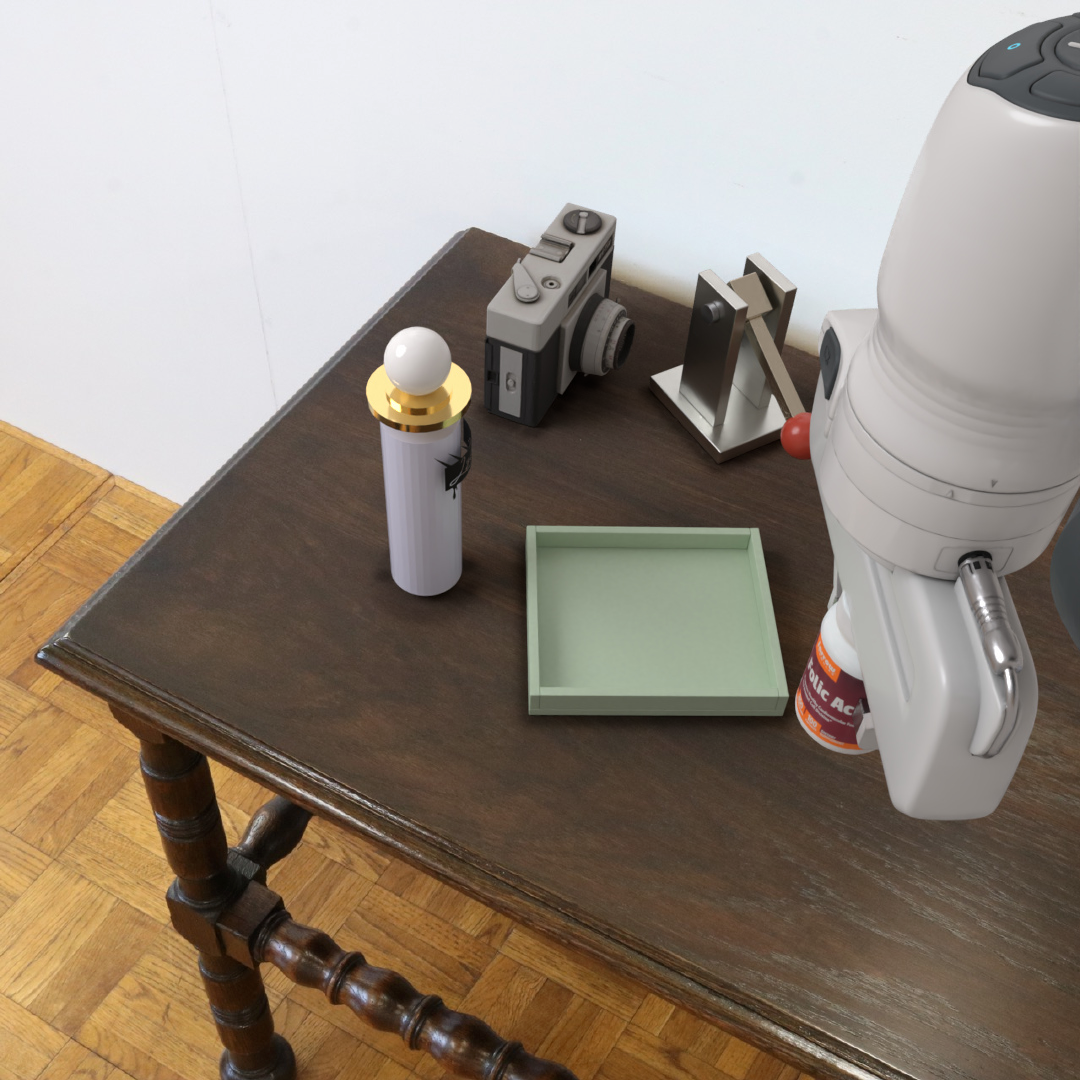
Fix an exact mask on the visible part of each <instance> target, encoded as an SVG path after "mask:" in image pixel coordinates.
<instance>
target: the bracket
mask: <svg viewBox="0 0 1080 1080" xmlns="http://www.w3.org/2000/svg"><path fill="white" fill-rule="evenodd" d="M754 272H756V273H757V275H758V278H759V280H760V282H761V284H762V286H763V289H764V291H765V293H766V295H767V297H768V299H769V302H770V304H771V306H772V308H773V309H772V310H771V311H770V312H769V313H767V314H766V315H765V316H763V320H764V322H765V324H766V326H767V328H768V331H769V333H770V335H771V337H772V339H773V342H774V344H775V346H776V348H777V350H778V352H779V355H780V357H781V358H782V353H783V350H784V345H785V341H786V337H787V334H788V333H787V332H788V328H789V324H790V321H791V316H792V313H793V308H794V305H795V300H796V296H797V291H798V287H797V286H796V285H795V284H794V283H793V282H792V281H790V280H789V279H788V278H787V277H786V276H785V275H784V274H783V273H782V272H781V271H780V270H778V269H777V267H775V266H774V265H773V264H772V263H771V262H769V261H768V260H767V259H766V257H764V256H763V255H762V254H761V253H760V252H755V253H752V254H749V255H747V256H746V258H745V262H744V268H743V272H742V277H743V276H745V275H748V274H751V273H754ZM695 287H696V288H695V293H694V299H693V305H692V309H691V315H690V322H689V327H688V334H687V340H686V347H685V352H684V357H683V364H680V365H678V366H675V367H671V368H669V369H666V370H663V371H661V372H658V373H656V374H653V375H650V376H649V382H648V389H649V390H650V392H652V394H653V395H654V396H655V397H656V398H657V399H658V400H659V401H660V403H662V404H663V405H664V407H665V408H666V409H667V410H668V411H669V412H670V413H671V415H672V416H673V417H674V418H675V419H676V420H677V421H678V422H679V423H680V424H681V425H682V426H683V428H684V429H685V430H686V431H687V432H688V433H689V434H690V435H691V436H692V437H693V439H695V441H696V442H697V443H698V444H699V445H700V446H701V448H703V449H704V451H706V453H707V454H708V455H709V456H710V457H711V458H712V459H713V460H714V461H715V463H716V464H721V463H724V462H727V461H729V460H731V459H734V458H737V457H739V456H741V455H744V454H746V453H749V452H751V451H753V450H756V449H758V448H761V447H763V446H765V445H768V444H771V443H773V442H775V441H777V440H781V439H780V435H781V429H782V427H783V425H784V423H785V422H786V420H785V418H784V416H783V414H782V411H781V409H780V407H779V405H778V403H777V400H776V398H775V396H774V394H773V392H772V389H771V387H770V385H769V383H768V381H767V378H766V376H765V374H764V372H763V370H762V367H761V365H760V363H759V361H758V359H757V356H756V354H755V352H754V350H753V348H752V345H751V343H750V341H749V339H748V337H747V334H746V332H745V330H744V326H745V321H746V316H747V311H748V307H749V306H748V304H747V303H746V302H745V301H743V300H742V299H741V298H740V297H739V296H738V295H737V294H736V293H735V292H734V291H733V290H732V289H731V288H730V287H729V286H728V285H727V283H726V282H725V281H724V280H723V279H721V278H720V276H718V274H716V272H714V271H713V269H712V268H709V269H706V270H705V269H704V271H703V270H702V271H700V272H698V274H697V281H696V286H695Z"/></svg>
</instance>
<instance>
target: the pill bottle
mask: <svg viewBox="0 0 1080 1080" xmlns="http://www.w3.org/2000/svg"><path fill="white" fill-rule="evenodd" d="M859 699H867V695H866V691H865V686H864V682H863V678H862V674H861V669H860V665H859V661H858V656H857V652H856V648H855V643H854V639H853V635H852V631H851V618H850V613H849V608H848V604H847V599H846V595H845V591H844V589H843V591H842V594H841V596H840V598H839V600H838V602H836V603H835V604H834V605H833V606H832V607H831V608H830V609H829V610H828V609H827V612H826V613H825V615H824V617H823V618H822V620H821V622H820V627H819V630H818V633H817V636H816V639H815V641H814V644H813V646H812V649H811V652H810V656H809V658H808V660H807V663H806V666H805V668H804V671H803V674H802V677H801V678H800V683H799V686H798V688H797V690H796V694H795V699H794V700H795V701H794V705H795V706H794V707H795V713H796V717H797V719H798V721H799V723H800V726H801V728H803V730H804V731H805V732H806V733H807V734H808V736H809V737H810V738H812V739H813V740H814V741H815V742H816V743H818V744H819V745H820V746H822V747H823V748H825V749H828V750H830V751H833V752H836V753H840V754H844V755H852V756H853V755H855V756H856V755H857V756H858V755H862V754H868V753H871V752H874V751H875V750H863V749H861V748H859V746H858V743H857V739H856V733H855V728H854V723H853V718H852V716H853V713H855V711H856V706H857V704H858V701H859Z"/></svg>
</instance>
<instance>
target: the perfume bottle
mask: <svg viewBox="0 0 1080 1080" xmlns="http://www.w3.org/2000/svg"><path fill="white" fill-rule="evenodd" d="M367 380H368V381H367V384H366V387H365V388H366V389H365V394H366V403H367V406H368V410H369V411H370V412H371V414H372V416H374V418H375V419H376V420H377V421H378V422H379V431H380V444H381V445H380V446H381V454H382V455H381V458H382V469H383V470H382V471H383V481H384V482H383V485H384V496H385V497H384V498H385V508H386V509H385V511H386V522H387V534H388V549H389V562H390V571H391V572H390V574H391V576H392V580H394V583H395V584H396V585H397V586H398V587H399V588H400V589H402V590H403V591H405V592H407V593H409V594H411V595H415V596H421V597H429V596H430V597H431V596H437V595H440V594H442V593H445V592H447V591H449V590H451V589H452V588H453V587H454V586H455V585H456V584H457V583H458V582H459V580H460V578H461V576H462V573H463V514H462V513H463V508H462V507H463V506H462V505H463V504H462V503H463V502H462V482H463V481H464V480H465V479H466V477H467V476H468V474H469V472H470V471H471V468H472V462H473V461H472V460H473V459H472V457H473V455H472V453H473V451H472V448H473V447H472V446H473V445H472V444H473V440H472V439H473V437H472V430H471V427H470V425H469V422H468V421H467V420H466V419H465V417H464V416H465V415H466V413H467V412H468V410H469V408H470V406H471V403H472V397H473V396H472V391H473V389H472V383H471V380H470V378H469V376H468V374H467V373H466V372H465V370H464V369H463V368H461V367H460V365H458V364H456V363H455V362H453V361H452V352H451V350H450V348H449V345H448V343H447V342H446V340H444V338H443V336H441V335H440V333H438V332H436V331H435V330H433V329H431V328H428V327H425V326H411V327H405V328H404V329H401V330H399V331H398V332H396V334H395V335H393V336H392V337H391V339H390V340H389V342H388V344H386V347H385V350H384V354H383V364H382V365H380V366H379V367H377V368H376V369H375V370H374V371H373V372H372V373H371V375H370V377H369V379H367ZM462 421H463V422H462ZM462 431H463V433H462ZM462 434H463V437H462ZM462 438H463V439H462ZM462 441H463V442H464V443H465V445H466V446H465V445H462ZM462 449H464V450H466V452H465V453H464V454H463V456H462Z"/></svg>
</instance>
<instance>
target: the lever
mask: <svg viewBox="0 0 1080 1080" xmlns="http://www.w3.org/2000/svg"><path fill="white" fill-rule="evenodd" d="M726 284H727V285H728V286H729V287H730V288H731V289H732V290H733V291H734V292H735V293H736V294H737V295H738V296H739V297H740V298H741V299H742V300H743V301H745V302H746V303H747V304H748V306H749V307H748V311H747V316H746V321H745V326H744V330H745V332H746V334H747V337H748V339H749V341H750V343H751V345H752V348H753V350H754V352H755V354H756V356H757V359H758V361H759V363H760V365H761V367H762V370H763V372H764V374H765V376H766V378H767V381H768V383H769V385H770V387H771V389H772V394H773V395H774V396H775V398H776V400H777V403H778V405H779V407H780V409H781V411H782V414H783V416H784V418H785V420H786V422H785V423H784V425H783V427H782V429H781V435H780V439H779V440H780V443H781V446H782V448H783V450H784V451H785V452H786V453H787V454H788V455H789V456H790V457H792V458H794V459H796V460H801V461H808V460H811V453H810V421H811V414H812V412H809V411H808V412H807V411H806V409H805V407H804V405H803V403H802V401H801V399H800V396H799V394H798V391H797V390H796V387H795V385H794V383H793V380H792V379H791V376H790V374H789V372H788V370H787V368H786V366H785V364H784V361H783V359H782V356H781V357H780V355H779V352H778V350H777V348H776V346H775V344H774V342H773V339H772V337H771V335H770V333H769V331H768V328H767V326H766V324H765V322H764V320H763V316H765V315H766V314H767V313H769V312H770V311H771V310H772V309H773V308H772V306H771V304H770V302H769V299H768V297H767V295H766V293H765V291H764V289H763V286H762V284H761V282H760V280H759V278H758V275H757V273H756V272H754V273H751V274H748V275H745V276H743V275H742V276H740V277H737V278H734V279H731V280H729V281H728V282H727V283H726Z"/></svg>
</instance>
